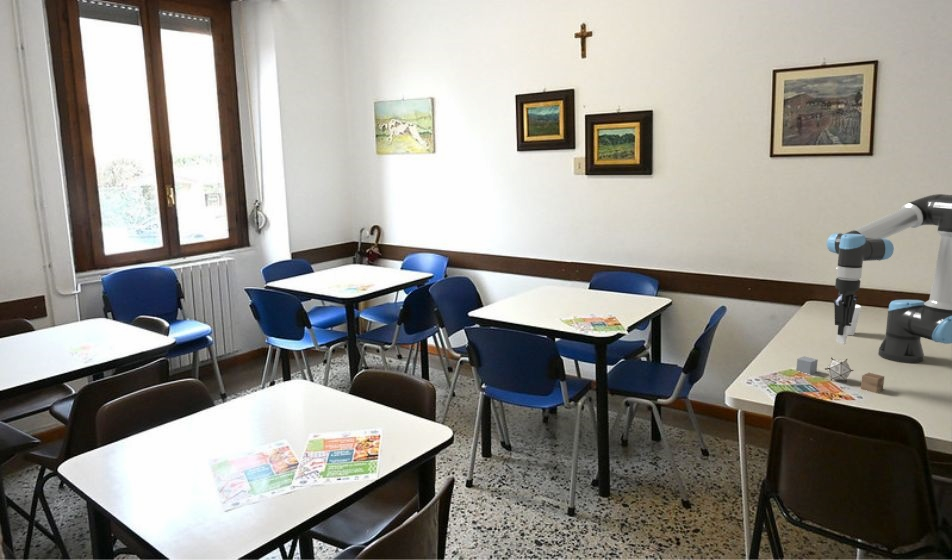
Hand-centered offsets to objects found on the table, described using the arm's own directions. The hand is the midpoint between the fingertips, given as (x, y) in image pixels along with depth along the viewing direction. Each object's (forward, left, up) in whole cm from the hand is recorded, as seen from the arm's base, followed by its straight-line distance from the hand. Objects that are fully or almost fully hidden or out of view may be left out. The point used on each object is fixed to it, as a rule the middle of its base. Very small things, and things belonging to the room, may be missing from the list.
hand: (840, 343), depth 233 cm
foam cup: (-63, -27, -14) cm, 70 cm away
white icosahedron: (0, 0, -14) cm, 14 cm away
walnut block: (0, +12, -14) cm, 18 cm away
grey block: (0, -11, -14) cm, 18 cm away
